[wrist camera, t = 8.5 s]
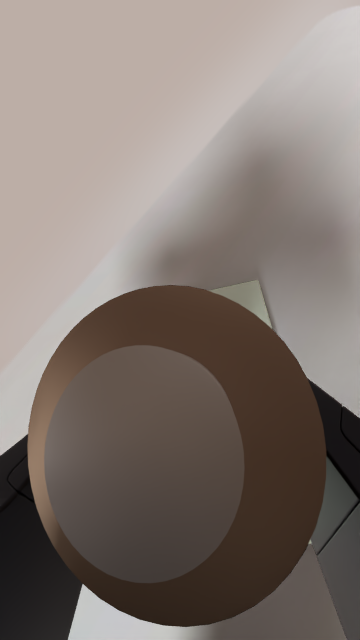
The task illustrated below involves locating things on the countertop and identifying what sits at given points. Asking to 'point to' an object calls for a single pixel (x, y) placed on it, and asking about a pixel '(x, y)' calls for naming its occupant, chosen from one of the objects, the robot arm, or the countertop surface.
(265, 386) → the brown capped cylinder
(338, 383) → the countertop surface
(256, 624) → the countertop surface
